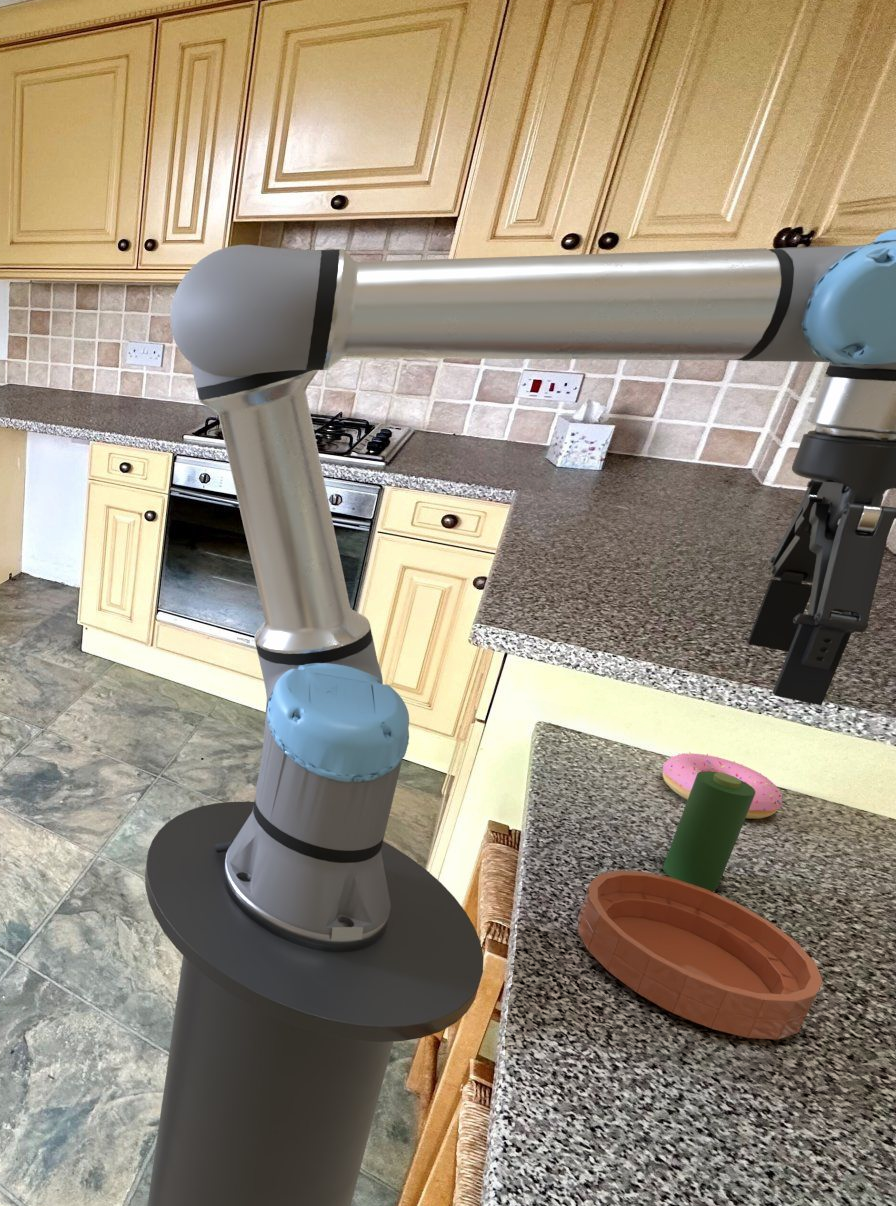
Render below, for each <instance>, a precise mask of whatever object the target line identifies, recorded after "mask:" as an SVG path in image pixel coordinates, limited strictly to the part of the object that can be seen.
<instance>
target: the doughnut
mask: <svg viewBox="0 0 896 1206" xmlns="http://www.w3.org/2000/svg"><path fill="white" fill-rule="evenodd" d="M701 771H711V772H717V773H725V774H728V775H731V776H734V777H736V778H738V779H739V780H741V781H743V782H745V783H747V784H749V785H750V786H751V787H753V788H754V790H755V792H756V793H755V796H754V798H753V801H752V803H751V806H750V808H749V811H748V813H747V816H746V818H745V819H763V818H768V817H771V816H773V815H774V814H775V813H776V812H777V811H778V810H779V809H781V808H782V806H783V797H784V796H783V795H782V793H781V789H780V788H778V786H777V785H776V784H775V783H774V782H773V781H771V780H770V779H769V778H768V777H767V776H765V775H763V774H762V773H760V772H758V771H756V770H754V769H752V768H750V767H748V766H745V765H744V764H743V763H741V764H740V763H738V762H736V761H735V760H733V761H732V760H729V759H725V758H721V757H719V756H715V755H709V754H708V753H706V754H702V753H691V751H688V753H687V752H686V753H678V754H677V755H674V756H673V755H671V756H670V758H668V759H667V760H666V761H665V762H664V764H663V765H662V778H663V780H664V782H665V784H666V785H667V786H668V787H669V788H670V789H671V790H672V791H673V792H674V793H676V794H677V795H678V796H679V797H682V798H683V799H684V800H686V801H687V800H688V798H689V795H690V792H691V789H692V787H693V784H694V781H695V779H696V776H697V773H699V772H701Z"/></svg>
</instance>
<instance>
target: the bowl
mask: <svg viewBox="0 0 896 1206" xmlns="http://www.w3.org/2000/svg"><path fill="white" fill-rule="evenodd" d="M577 933H578V936H579V937H580V939H581V941H582V942H583V944H584V946H585V948H586V950H587V951H588V952H589V953H590V955H592V957H593V958H595V959H596V961H597V962H598V963H599V964H600V965H601V966H602V967H603V968H604V969H605V970H606V971H607V972H608V973H610V974H611V975H612V976H614V977H615V978H616V979H617V980H619V981H620V982H622V983H623V985H626V986H627V987H628V988H629V989H631V990H632V991H633V992H635V993H637V994H638V995H640V996H641V997H642V998H644V999H646V1000H648V1001H649V1002H651V1003H652V1004H654V1005H656V1006H657V1007H660V1008H661V1009H664V1010H665V1011H668V1012H670V1013H672V1014H673V1015H676V1016H678V1017H681V1018H683V1019H685V1020H687V1021H690V1022H692V1023H695V1024H698V1025H699V1026H703V1027H705V1028H708V1029H711V1030H715V1031H719V1032H723V1033H727V1034H731V1035H735V1036H739V1037H742V1038H745V1039H746V1038H747V1039H760V1040H762V1039H763V1040H782V1039H785V1038H787V1037H790V1036H793V1035H796V1034H798V1033H799V1032H800V1030H801V1029H802V1026H803V1024H804V1022H805V1020H806V1018H807V1016H808V1014H809V1012H810V1010H811V1008H812V1006H813V1004H814V1001H815V1000H816V997H817V995H818V993H819V991H820V989H821V987H822V985H823V978H822V976H821V973H820V971H819V968H818V965H817V963H816V962H815V961H814V960H813V959H812V957H811V955H809V954H808V953H807V952H806V950H805V949H804V948H803V947H802V946H801V945H800V944H799V943H798V942H797V941H796V940H795V939H794V938H792V937H791V936H790V935H788V934H787V933H786V932H784V931H783V930H782V929H780V928H779V927H778V926H777V925H775V924H774V923H773V922H771V921H769V920H767V919H766V918H764V917H763V916H761V915H759V914H757V913H756V912H754V911H753V910H751V909H749V908H747V907H746V906H743V905H742V904H739V903H738V902H736V901H733V900H731V899H729V898H727V897H725V896H722V895H720V894H718V893H716V892H715V891H709V890H707V889H704V888H701V887H698V886H695V885H692V884H689V883H686V882H683V881H680V880H677V879H674V878H671V877H669V876H668V875H661V874H658V873H657V874H656V873H652V872H646V871H641V870H639V871H638V870H618V869H617V870H612V871H608V872H604V873H603V872H602V873H600V874H598V875H597V876H596V877H595V878H594V879H593V880H592V881H590V882H589V884H588V887H587V889H586V892H585V896H584V898H583V901H582V904H581V907H580V910H579V913H578V916H577Z"/></svg>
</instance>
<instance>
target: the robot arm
mask: <svg viewBox="0 0 896 1206" xmlns="http://www.w3.org/2000/svg"><path fill="white" fill-rule="evenodd" d="M170 306H171V307H170V313H169V314H170V315H169V318H170V330H171V334H172V338H173V340H174V343H175V345H176V347H177V349H178V351H179V352H180V353H181V354H182V355H183V357H184V358H185V359H186V360H187V361H188V362H189V363H190V367H191V371H192V375H193V379H194V383H195V387H196V391H197V396H198V401H199V403H200V404H202V405H203V406H205V407H207V408H209V409H211V410H212V411H214V412H215V413H216V414H217V415H218V419H219V424H220V429H221V432H222V437H223V441H224V446H225V450H226V454H227V459H228V464H229V468H230V472H231V476H232V481H233V485H234V489H235V495H236V499H237V503H238V507H239V511H240V517H241V520H242V525H243V530H244V534H245V538H246V542H247V547H248V551H249V556H250V561H251V565H252V569H253V572H254V578H255V583H256V586H257V591H258V595H259V600H260V604H261V610H262V613H263V617H264V622H263V623H262V624H261V625H260V627H259V628H258V629H257V631H256V632H255V634H254V643H255V647H256V648H255V649H256V652H257V657H258V660H259V665H260V669H261V674H262V679H263V682H264V688H265V695H266V703H265V704H266V705H265V719H264V731H263V732H264V734H263V744H262V751H261V757H260V764H259V769H258V776H257V782H256V788H255V794H254V801H253V802H254V806H253V811H252V813H251V815H250V816H249V818H248V819H247V821H246V822H245V824H244V825H243V827H242V829H241V830H240V832H239V833H238V835H237V836H236V838H235V839H234V841H229V842H224V843H218V844H215V847H214V848H215V851H216V852H217V853H221V852H227V854H226V859H225V866H224V872H223V877H224V883H225V886H226V889H227V891H228V893H229V895H230V896H231V898H232V899H233V901H234V902H235V904H236V905H237V906H238V907H239V908H240V909H241V910H242V911H243V912H244V913H245V914H246V915H247V916H248V917H249V918H250V919H252V920H253V921H254V922H256V923H257V924H258V925H260V926H261V927H263V928H264V929H266V930H268V931H270V932H271V933H273V934H275V935H277V936H279V937H281V938H283V939H286V940H288V941H290V942H293V943H296V944H299V945H302V946H305V947H309V948H313V949H318V950H324V951H335V952H345V951H355V950H359V949H363V948H366V947H368V946H370V945H372V944H374V943H375V942H377V941H378V940H379V939H380V938H381V937H382V935H383V934H384V932H385V930H386V926H387V922H388V918H389V914H390V908H391V904H390V898H389V893H388V887H387V882H386V876H385V871H384V865H383V859H382V854H381V848H382V844H383V841H384V839H385V835H386V831H387V827H388V823H389V818H390V814H391V810H392V805H393V801H394V796H395V793H396V788H397V784H398V780H399V776H400V771H401V767H402V763H403V759H404V758H405V756H406V753H407V750H408V747H409V740H410V729H409V727H410V713H409V710H408V707H407V705H406V703H405V701H404V699H403V698H402V697H401V695H400V694H399V693H398V692H397V691H396V690H395V689H394V688H393V687H392V686H391V685H389V684H383V683H384V682H383V681H384V680H383V674H382V670H381V666H380V663H379V662H378V661H379V660H378V655H377V652H376V647H375V641H374V637H373V633H372V628H371V627H372V626H371V623H370V620H369V619H368V618H367V617H366V616H365V615H364V614H361V613H359V612H358V611H356V610H354V609H353V608H352V607H351V603H350V599H349V594H348V589H347V585H346V581H345V580H346V579H345V576H344V571H343V566H342V565H343V564H342V561H341V560H342V559H341V556H340V551H339V546H338V542H337V537H336V532H335V527H334V522H333V515H332V512H331V508H330V502H329V496H328V492H327V488H326V483H325V478H324V475H323V474H324V473H323V468H322V463H321V459H320V454H319V449H318V445H317V439H316V435H315V429H314V424H313V419H312V416H311V410H310V405H309V400H308V396H307V389H308V386H309V385H310V384H311V382H312V381H313V379H314V378H315V376H316V375H317V373H318V372H319V371H328V370H329V369H331V368H332V367H334V365H336V364H337V363H338V362H340V361H342V360H343V359H451V360H452V359H454V360H455V359H456V360H458V359H459V360H460V359H465V360H470V359H472V360H473V359H474V360H475V359H476V360H482V359H483V360H607V361H610V360H611V361H612V360H613V361H614V360H616V361H617V360H620V361H622V360H624V361H627V360H628V361H631V360H632V361H633V360H634V361H637V360H638V361H644V360H645V361H741V362H789V363H790V362H793V363H794V362H796V363H797V362H799V363H800V362H801V363H802V362H804V363H809V362H810V363H828V366H827V367H826V370H825V373H824V375H823V377H822V380H821V382H820V385H819V388H818V391H817V394H816V397H815V400H814V402H813V405H812V408H811V410H810V414H809V416H808V419H807V421H808V423H810V424H811V425H813V426H815V429H813V430H809V431H808V432H807V433H804V434H803V435H802V438H801V441H800V444H799V446H798V449H797V452H796V454H795V457H794V460H793V463H792V466H791V471H792V472H793V474H794V475H797V476H799V477H801V478H805V479H809V480H810V481H808V482H807V485H806V487H807V488H806V490H805V493H804V495H803V498H802V500H801V501H800V504H799V505H798V508H797V510H796V511H795V514H794V515H793V517H792V519H791V521H790V523H789V525H788V527H787V529H786V530H785V533H784V534H783V536H782V538H781V540H780V541H779V544H778V546H777V548H776V550H775V551H774V553H773V555H772V556H771V557H770V558H769V563H770V567H772V568H771V570H770V574H771V577H772V578H770V580H769V582H768V585H767V586H766V591H765V593H764V596H763V597H762V600H761V604H760V606H759V609H758V612H757V614H756V617H755V620H754V622H753V625H752V628H751V630H750V632H749V636H748V639H747V644H748V645H750V646H756V647H761V648H767V649H770V650H771V649H772V650H777V651H782V652H787V654H786V657H785V659H784V661H783V664H782V667H781V669H780V673H779V674H778V678H777V680H776V682H775V685H774V688H773V691H772V694H773V696H775V697H780V698H784V699H789V700H793V701H798V702H802V703H805V704H806V703H807V704H810V705H811V704H812V705H815V706H816V705H817V706H819V707H822V705H823V704H824V703H823V702H824V700H825V698H826V696H827V693H828V691H829V689H830V686H831V684H832V681H833V679H834V677H835V674H836V671H837V669H838V667H839V664H840V662H841V659H842V658H843V654H844V652H845V650H846V648H847V646H848V643H849V640H850V638H851V635H852V634H854V633H855V632H856V633H860V634H861V633H864V632H865V631H866V630H867V629H868V627H869V618H870V615H871V609H872V604H873V601H874V598H875V597H874V596H875V592H876V589H877V584H878V580H879V575H880V572H881V567H882V562H883V558H884V555H885V551H886V546H887V542H888V538H889V535H890V532H891V530H892V527H893V524H894V521H895V519H896V507H892V506H885V505H882V504H883V501H884V495H885V493H886V491H888V490H893V489H896V228H894V229H889V230H886V231H884V232H881V233H880V234H879V235H878V236H876V238H875V239H874V241H873V242H870V243H868V244H851V245H825V246H823V245H822V246H796V247H793V246H791V247H779V248H766V247H757V248H732V249H731V248H730V249H702V250H701V249H700V250H672V251H668V250H667V251H641V252H612V253H611V252H609V253H583V254H580V253H579V254H553V255H552V254H551V255H525V256H524V255H521V256H496V257H494V256H493V257H491V256H490V257H466V258H465V257H464V258H438V259H437V258H436V259H435V258H434V259H407V260H405V259H404V260H375V261H371V260H370V261H356V260H355V259H353V258H352V256H350V254H349V253H348V252H347V251H346V250H345V249H342V248H340V249H297V248H296V249H295V248H280V247H271V246H264V245H255V244H254V245H253V244H238V245H230V246H226V247H223V248H221V249H218V250H215V251H213V252H211V253H209V254H207V255H206V256H204V257H203V258H201V259H199V261H198V262H196V264H194V265H193V266H192V267H191V268H190V269H189V270H188V271H187V272H186V273H185V275H184V276H183V278H182V279H181V281H180V282H179V283H178V286H177V288H176V290H175V293H174V295H173V298H172V303H171V305H170ZM774 578H775V579H774ZM776 578H777V579H776ZM806 583H808V584H806ZM807 605H808V611H807V613H805V611H806V609H807Z"/></svg>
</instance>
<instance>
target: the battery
mask: <svg viewBox="0 0 896 1206" xmlns="http://www.w3.org/2000/svg"><path fill="white" fill-rule="evenodd" d="M755 793H756V792H755V790H754V788H753V787H751V786H750V785H749V784H747V783H745V782H743V781H741V780H739V779H738V778H736V777H734V776H731V775H728V774H725V773H717V772H711V771H701V772H699V773H697V776H696V779H695V781H694V784H693V787H692V789H691V792H690V795H689V798H688V800H686V803H685V805H684V808H683V811H682V814H681V817H680V820H679V822H678V824H677V827H676V830H675V833H674V836H673V838H672V841H671V844H670V846H669V849H668V852H667V854H666V856H665V859H664V862H663V865H662V869H663V872H664V873H665V874H666V876H667V877H671V878H674V879H677V880H680V881H683V882H686V883H689V884H692V885H695V886H698V887H701V888H704V889H707V890H709V891H711V892H715V891H716V890H718V888H719V885H720V883H721V880H722V878H723V875H724V873H725V870H726V868H727V865H728V863H729V861H730V858H731V855H732V853H733V851H734V848H735V845H736V843H737V840H738V838H739V835H740V833H741V830H742V829H743V826H744V823H745V820H746V819H747V818H746V816H747V813H748V811H749V808H750V806H751V803H752V801H753V798H754V796H755Z"/></svg>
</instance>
